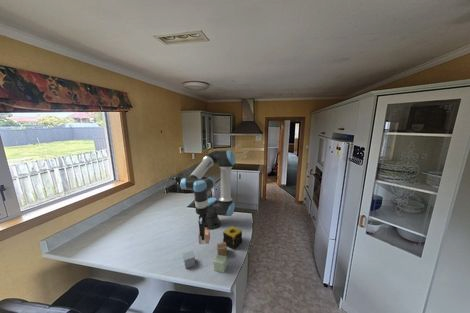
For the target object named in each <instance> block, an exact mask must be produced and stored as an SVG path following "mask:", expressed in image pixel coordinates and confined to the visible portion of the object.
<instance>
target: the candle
mask: <svg viewBox="0 0 470 313" xmlns="http://www.w3.org/2000/svg"><path fill="white" fill-rule="evenodd" d="M222 235H223V239H222V241H223V242H222V243H224V242H226V246H227V247H228V248H229V249H231V250H235V249H236V248H238V247H240V245H241V244H242V243H243V230H242V229H240V228H237V227H235V226H232V225H231V226H230V227H229V228H227V229H225V230H223V232H222Z"/></svg>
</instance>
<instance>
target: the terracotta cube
mask: <svg viewBox="0 0 470 313" xmlns="http://www.w3.org/2000/svg"><path fill="white" fill-rule="evenodd" d="M210 230H211V229H205V236H206V244H207V245H209V244H210V240H211V232H210ZM199 234H200V232H198V236H197V237H198V244H199V245H202V244H201V236H200V235H199ZM206 244H205V245H206Z"/></svg>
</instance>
